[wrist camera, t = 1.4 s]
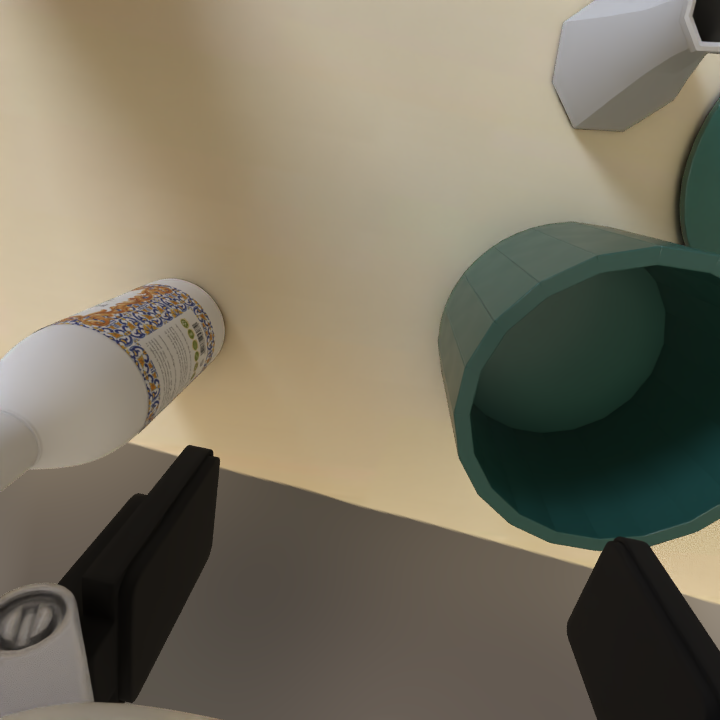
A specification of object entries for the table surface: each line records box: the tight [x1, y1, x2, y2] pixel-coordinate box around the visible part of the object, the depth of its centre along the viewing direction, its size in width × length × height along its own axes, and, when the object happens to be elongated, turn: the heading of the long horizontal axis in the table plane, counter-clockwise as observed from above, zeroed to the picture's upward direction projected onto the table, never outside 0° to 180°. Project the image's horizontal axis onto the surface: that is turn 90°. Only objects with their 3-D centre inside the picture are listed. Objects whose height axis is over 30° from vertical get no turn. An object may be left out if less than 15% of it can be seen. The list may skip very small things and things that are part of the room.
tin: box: [438, 222, 720, 551], centre depth 27 cm, size 16×16×12 cm
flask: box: [552, 0, 720, 131], centre depth 22 cm, size 7×7×10 cm
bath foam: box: [0, 278, 225, 492], centre depth 25 cm, size 7×7×20 cm
